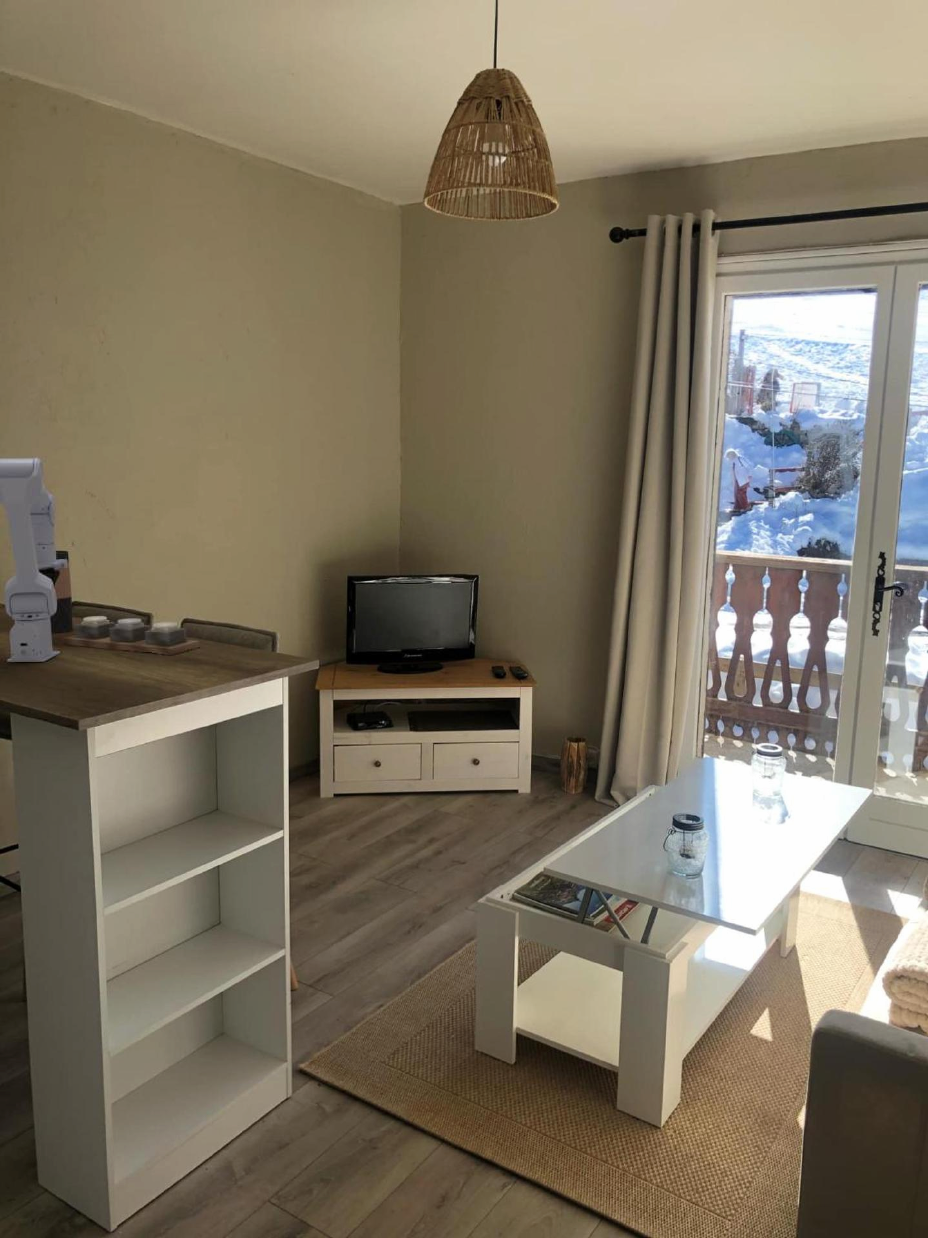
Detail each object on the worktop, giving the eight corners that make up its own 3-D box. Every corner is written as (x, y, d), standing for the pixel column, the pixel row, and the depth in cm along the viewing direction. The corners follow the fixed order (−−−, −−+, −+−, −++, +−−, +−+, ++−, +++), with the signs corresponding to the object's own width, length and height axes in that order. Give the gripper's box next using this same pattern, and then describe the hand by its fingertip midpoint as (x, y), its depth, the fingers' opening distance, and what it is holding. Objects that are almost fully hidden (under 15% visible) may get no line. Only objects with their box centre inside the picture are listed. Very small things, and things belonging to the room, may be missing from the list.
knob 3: (182, 641, 234) (181, 623, 233) (167, 645, 229) (166, 626, 228) (164, 639, 236) (163, 621, 235) (149, 643, 231) (148, 625, 230)
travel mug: (79, 630, 257) (74, 551, 254) (49, 634, 252) (44, 554, 249) (65, 626, 263) (60, 549, 259) (36, 630, 257) (30, 552, 254)
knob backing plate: (199, 647, 235) (199, 628, 234) (171, 655, 226) (170, 635, 225) (94, 637, 248) (93, 619, 247) (63, 644, 239) (61, 625, 238)
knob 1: (112, 634, 242) (111, 617, 241) (96, 638, 237) (95, 620, 237) (95, 633, 244) (94, 615, 244) (79, 636, 240) (78, 618, 239)
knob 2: (146, 637, 238) (145, 619, 237) (131, 641, 233) (130, 622, 232) (129, 635, 240) (128, 617, 239) (113, 639, 235) (112, 621, 235)
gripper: (35, 547, 230) (39, 606, 232) (76, 541, 243) (80, 597, 246) (9, 546, 232) (13, 605, 234) (51, 540, 245) (55, 596, 248)
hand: (46, 601), depth 240 cm, fingers closed
